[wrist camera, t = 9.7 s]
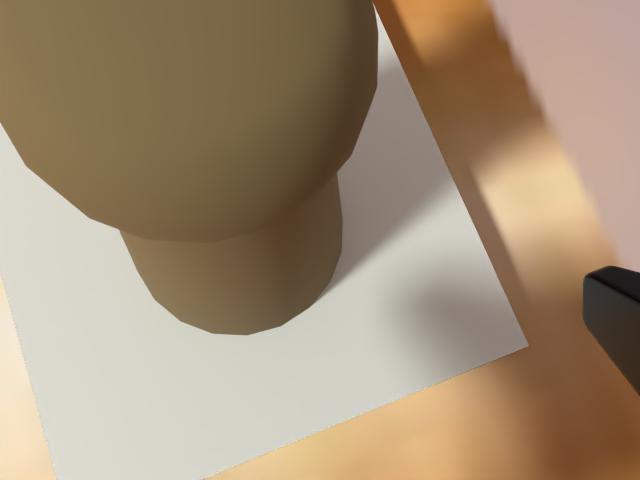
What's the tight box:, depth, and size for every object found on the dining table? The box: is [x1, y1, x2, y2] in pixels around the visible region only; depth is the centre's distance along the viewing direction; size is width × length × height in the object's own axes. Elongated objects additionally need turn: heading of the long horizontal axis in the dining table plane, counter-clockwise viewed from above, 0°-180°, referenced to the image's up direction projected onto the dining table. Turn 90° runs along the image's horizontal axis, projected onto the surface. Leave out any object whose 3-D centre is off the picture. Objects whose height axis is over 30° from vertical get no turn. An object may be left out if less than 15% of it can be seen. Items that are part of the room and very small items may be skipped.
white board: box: [0, 4, 529, 480], centre depth 18 cm, size 18×13×1 cm
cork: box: [0, 0, 378, 335], centre depth 12 cm, size 6×6×11 cm
